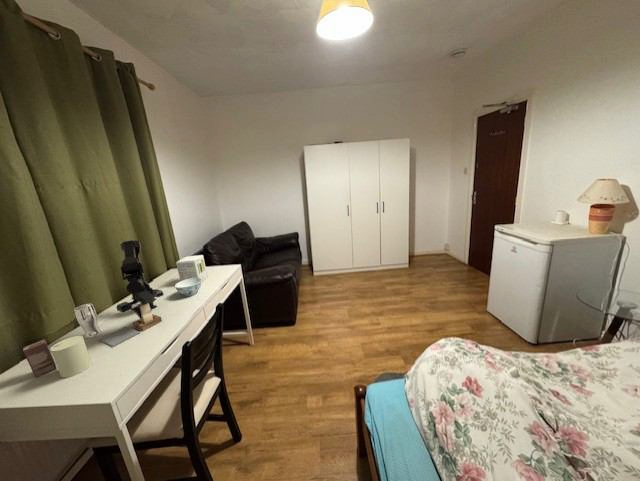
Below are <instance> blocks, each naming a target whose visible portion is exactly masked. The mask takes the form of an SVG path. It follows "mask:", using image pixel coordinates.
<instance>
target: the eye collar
mask: <svg viewBox="0 0 640 481" xmlns="http://www.w3.org/2000/svg"><path fill="white" fill-rule="evenodd" d="M152 316H153V320H151V321H149V322H147V323H145V324H142V323H141V322H140V318H139V319H138V320H135V321H133V322H132V326H133V329H134V328H135V329H136V330H138V331H139V330H140V331H142V332H144V331H146V330H148V329H150V328H152V327H154V326H156V325H158V324H160V323H162V322H163V319H162V316H159V315H157V314H154V313H152Z"/></svg>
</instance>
